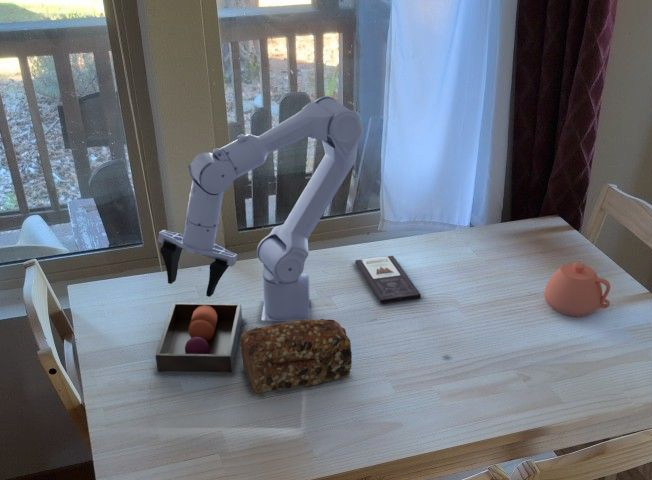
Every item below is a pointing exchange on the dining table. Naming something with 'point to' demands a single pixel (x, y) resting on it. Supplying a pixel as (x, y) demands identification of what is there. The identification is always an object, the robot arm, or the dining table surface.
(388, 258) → the chocolate bar
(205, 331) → the sweet potato
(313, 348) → the bread
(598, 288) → the sugar bowl
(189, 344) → the onion
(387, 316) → the dining table surface
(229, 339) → the dark wooden tray
